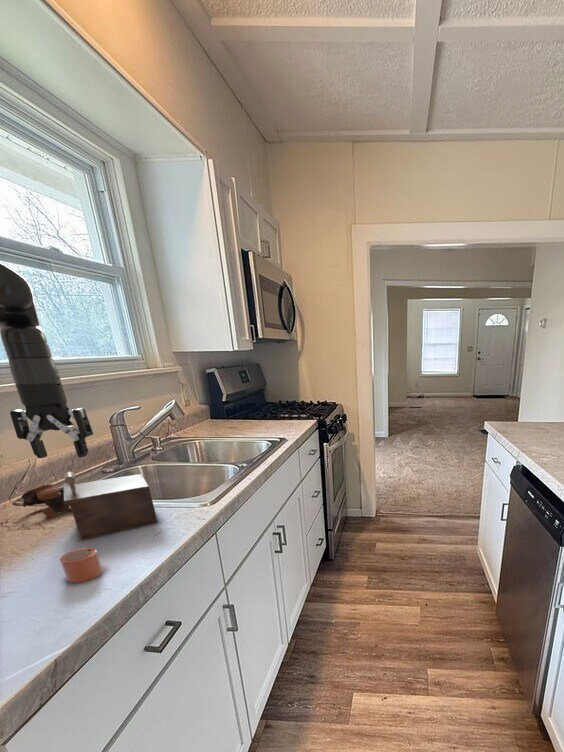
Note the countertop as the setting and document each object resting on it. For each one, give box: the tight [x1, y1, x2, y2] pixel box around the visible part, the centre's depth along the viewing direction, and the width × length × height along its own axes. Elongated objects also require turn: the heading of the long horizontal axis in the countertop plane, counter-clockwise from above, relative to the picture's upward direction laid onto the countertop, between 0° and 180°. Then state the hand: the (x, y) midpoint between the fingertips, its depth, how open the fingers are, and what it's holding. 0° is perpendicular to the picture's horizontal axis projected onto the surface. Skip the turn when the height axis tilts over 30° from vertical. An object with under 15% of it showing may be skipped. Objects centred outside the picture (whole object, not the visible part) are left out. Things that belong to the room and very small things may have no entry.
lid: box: [62, 471, 150, 504], centre depth 95 cm, size 16×13×5 cm
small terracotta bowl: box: [59, 547, 103, 584], centre depth 76 cm, size 6×6×4 cm
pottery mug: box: [21, 483, 71, 518], centre depth 107 cm, size 12×10×8 cm
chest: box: [69, 488, 159, 540], centre depth 98 cm, size 16×13×9 cm
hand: (63, 456), depth 89 cm, fingers open, 8 cm apart
